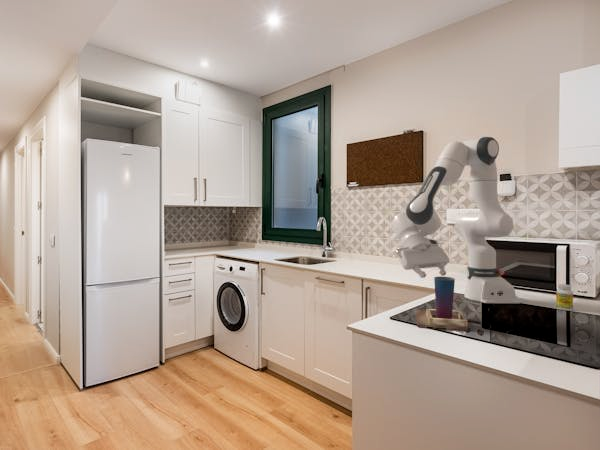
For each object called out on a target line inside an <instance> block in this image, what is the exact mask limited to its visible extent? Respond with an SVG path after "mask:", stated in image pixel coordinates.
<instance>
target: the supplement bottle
mask: <svg viewBox="0 0 600 450" xmlns="http://www.w3.org/2000/svg"><path fill="white" fill-rule="evenodd" d="M555 294H556V299H555V300H556V303H555V305H556V308H557V309H558V310H562V311H572V310H573V309H574V291H572V285H570V284H565V283H564V284H562V283H561V284H560V283H559V284H558V289H557V290H556V292H555Z"/></svg>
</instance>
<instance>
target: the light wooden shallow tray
mask: <svg viewBox="0 0 600 450" xmlns="http://www.w3.org/2000/svg"><path fill="white" fill-rule="evenodd" d="M413 311H414V312H413V313H414V317H415V321H416V326H417V328H426V329H428V328H427V327H433V328H432V329H437V328H448V329H447V330H451V329H457V330H456V331H466V332H467V331H469V327H468V325H469V324H468V320H467V318H466V317H465V315H464V314H463V312H462V311H461V310H454V309H452V319H443V318H437V316H436V308H435V309H433V308H426V309H414V310H413Z"/></svg>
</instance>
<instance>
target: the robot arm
mask: <svg viewBox="0 0 600 450" xmlns="http://www.w3.org/2000/svg"><path fill="white" fill-rule="evenodd" d="M499 152H500V146H499V142H498V141H497V140H496V139H495V138H494V137H492V136H482V137H476V138H470V139H467V140H464V141H457V140H456V141H451V142H448V143H447V144H446V146H445V147H444V148H443V150H442V151H441V152H440V154H439V156H438V159H437V161H436V163H435V165H434V166H433V168H432V169H431V170H430V171H429V173H428V175H427V176H426V177H425V179H424V181H423V183H422V185H421V187H420V188H419V190H418V192H417V194H416V195H415V196H414V197H413V198H412V199H411V200H410V201H409V203H408V204H407V206H406V209H405V212H400V213H398V214H397V215H395V217H394V218H393V220H392V228H393V231H394V233H395V235H396V237H397V239H398V240H399V241H400V242H401V243H402V247H398V248H397V249H396V255H397V256H398V259H399V261H400V264H401V266H402V268H403V269H404V270H406V271H407V270H408V271H409V270H413V272H415V273H416V274H417V275H419V277H420V278H421V279H423V278H426V277H427V273H426V272H425V271H424V270H422V269H430V268H438V269H439V270H440V271H439V272H438V273H439V275H440V277H444V276H446V275H447V271H446V269H445V267H446V266H447V265H448V264H449V262H450V258H449V256H448V254H447V252H446V251H445V250H444V249H443V247H441V246H439V245H440V243H439V242H438V240H437V239H436V240H435V239H432V238H428V237H427V236H430V235H431V234H434V233H436V232H437V231H438V230H439V228H440V227H441V218H440V217H439V214H438V213H437V211H436V209H435V207H434V199H435V197H436V195H437V193H438V191H439V189H440V188H441V186H444V187H445V186H446V187H448V186H453V185H455V184H456V183H458V181H459V179H460V178H461V176H462V174H463V171H464V169H465V167H468V166H469V167H470V173H469V188H468V189H469V195H468V196H469V200H470V201H471V202H472V203H473V204H476V205H477V207H478V209H479V212H478V211H473V212H472V211H471V212H470V211H469V212H465V213H461V214H458V215H457V216H456V218H455V220H454V228H455V230H456V231H457V233H458V234H460V236H462V239H463V240H464V243H465V245H466V247H467V254H468V255H467V256H468V259H467V260H468V266H467V267H466V268H467V269H466V279H467V284H466V289H465V292H464V296H463V297H464V298H465V299H468V300H471V301H476V302H480V303H484V304H521V303H523V302H522V301H523V300H522V298H520V297H519V296H518V295H516V290H515V288H514V286H513V284H511V283H510V282H509V281H507V280H506V279H505V278H503V277H502V276H503V275H504V274H505V271H504V270H502V269H499V268H498V267H497V252H496V249H495V248H494V247H493V246H492V245H490V244H489V243H488V242H487V239H486V238H503V237H508V236H509V235H510V234H511V233H512V232H513V229H514V225H515V223H514V221H513V218H512V217H511V216H510V215H509V214H508V213H506V211H504V209H503V207H502V206H501V204H500V202H499V197H498V169H497V164H496V158H497V157H498V155H499Z"/></svg>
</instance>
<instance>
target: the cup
mask: <svg viewBox="0 0 600 450" xmlns="http://www.w3.org/2000/svg"><path fill="white" fill-rule="evenodd" d="M433 280H434V295H435V309H436V316H437V318H443V319H452V310H454V309H453V307H454V305H453V304H454V294H455V293H454V292H455V281H456V279H455V278H454V277H450V276H435V277H434V279H433Z"/></svg>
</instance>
